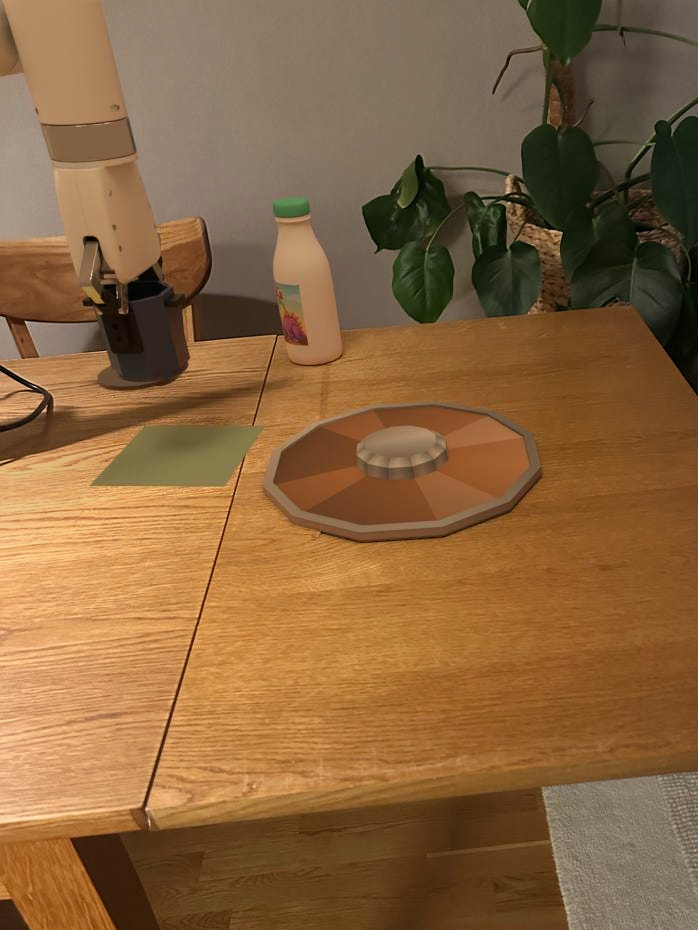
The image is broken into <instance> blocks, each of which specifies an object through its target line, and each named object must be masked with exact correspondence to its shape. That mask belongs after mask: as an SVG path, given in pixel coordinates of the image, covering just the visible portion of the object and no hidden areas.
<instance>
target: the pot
mask: <svg viewBox="0 0 698 930" xmlns="http://www.w3.org/2000/svg"><path fill="white" fill-rule="evenodd" d="M106 290H109V291H110V292H111V293H112V294H113V295H114V296H115V297H116V298H117V288H106ZM186 300H187V298H186V295H185V293H175V289H174V286H173V285H171V284H169V283H167V282H166V283H165V282H163V281H161V280H135V279H133V280H132V281H131V282H129V283H128V307H129V312H134V315H135V319H136V322H137V326H138V329H139V333H140V337H141V340H142V344H143V347H144V351H143V352H142V353H141V354H114V353H113V352H112V351H111V349H110V345H109V342H108V339H107V335H106V332H105V329H104V325H103V322H102V319H101V316H100V315H99V314H97V312H96V309H95V306H94V305H93V304H92V303H91V302H90V300H89V298H88V296H86V297H85V298H83V299H82V300H81V303H82V306H83V307H92V308H93V311H94V314H95V317H96V320H97V324H98V327H99V331H100V334H101V337H102V340H103V344H104V347H105V350H106V353H107V356H108V360H109V364H110V366H111V367H112V369H114V370H115V371H116V374H117V376H118V377H119V378H120V379H122V380H125V381H130V382H153V381H159V380H164V379H168V378H171V377H174V376H176V375H179V374H180V373H181V374H182V373H184V372H185V371H187V369H188V368H189V366H190V362H189V360H190V359H191V355H190V352H189V351H190V350H189V346H188V343H187V339H186V335H185V330H184V327H183V322H182V318H181V314H180V310H179V306H180V305H182V304H183V303H184V302H185V301H186ZM181 374H180V375H181Z"/></svg>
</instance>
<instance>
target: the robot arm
mask: <svg viewBox="0 0 698 930" xmlns="http://www.w3.org/2000/svg"><path fill="white" fill-rule="evenodd" d="M19 74H24V77H25V80H26V83H27V86H28V90H29V93H30V97H31V100H32V103H33V106H34V109H35V112H36V116H37V119H38V122H39V125H40V129H41V132H42V136H43V138H44V142H45V146H46V149H47V152H48V156H49V158H50V162H51V166H52V167H54V168H52V172H53V182H54V188H55V194H56V200H57V204H58V210H59V215H60V220H61V223H62V227H63V232H64V235H65V240H66V244H67V247H68V250H69V251H68V252H69V254H70V258H71V262H72V265H73V269H74V272H75V274H76V277H77V279H78V286H79V287H80V288H81V289H82V292H84V293H85V294H86V297H88V298H89V300H90V302H91V303H92V304H93V305H94V306H95V309H96V312H97V314H99V315H100V316H101V319H102V322H103V325H104V329H105V332H106V335H107V339H108V342H109V345H110V349H111V351H112V352H113V353H114V354H141V353H142V352H143V351H144V347H143V344H142V340H141V337H140V333H139V329H138V326H137V322H136V319H135V315H134V312H129V307H128V283H129V282H131V281H132V280H161V281H163V282H165V283H167V280H166V275H165V273H164V271H163V263H164V262H163V261H164V260H163V256H162V251H161V250H162V238H161V235H160V233H159V232H158V229H157V226H156V222H155V221H156V220H155V218H154V215H153V211H152V206H151V204H150V201H149V197H148V194H147V191H146V190H147V189H146V187H145V184H144V181H143V178H142V176H141V175H142V174H141V172H140V169H139V166H138V164H137V161H138V160H139V154H138V150H137V149H138V148H137V146H136V145H137V144H136V142H135V137H134V133H133V129H132V125H131V120H130V117H129V113H128V110H127V109H128V108H127V105H126V100H125V97H124V93H123V88H122V84H121V81H120V76H119V71H118V68H117V64H116V61H115V55H114V52H113V48H112V44H111V40H110V37H109V31H108V27H107V23H106V19H105V15H104V10H103V7H102V3H101V0H0V77H6V76H12V75H19ZM105 275H115V276H116V277H113V278H111V277H105ZM106 288H117V298H116V297H115V296H114V295H113V294H112V293H111V292H110V291H109V290H106Z"/></svg>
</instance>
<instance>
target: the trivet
mask: <svg viewBox="0 0 698 930" xmlns="http://www.w3.org/2000/svg"><path fill="white" fill-rule="evenodd" d="M181 375H182V373H180V374H179V375H176V376H174V377H171V378H168V379H164V380H159V381H153V382H130V381H125V380H122V379H120V378H119V377H118V376H117V374H116V371H115V370H114V369H112V367H111V365H109V366H107V367H104V369H102V370H101V371H100V372H99V373H97V376H96V380H97V383H98V385H99V387H101V388H103V389H106V390H111V391H118V392H119V391H120V392H121V391H122V392H123V391H124V392H125V391H126V392H127V391H129V392H130V391H138V390H144V389H149V388H153V387H162V386H164V385H167V384H169V383H171V382H173V381H175V380H176V379H178V378H179V377H180V376H181Z"/></svg>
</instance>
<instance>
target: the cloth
mask: <svg viewBox="0 0 698 930" xmlns="http://www.w3.org/2000/svg"><path fill="white" fill-rule="evenodd" d="M264 428H265V425H144V426H143V427H142V428H141V429H140V431H139V432H138V433H136V434H135V436H134V437H133V438H132V439H131V440H130V441H129V442H128V443H127V445H126V446H125V447H124V448H123V449H122V450H121V451H120V452H119V453H118V454H117V455H116V457H114V459H113V460H112V461H111V462H110V463H109V464H108V465H107V466H106V467H105V468H104V469H103V470H102V472H100V473H99V475H98V476H97V477H96V478H95V479H93V481H92V482H91V484H89V487H221V488H222V487H223V488H224V487H225V486H226V485H227V483H228V482H229V481H230V480H231V477H233V474H234V473H235V472H236V471H237V469H238V467H239V465H241V462H242V461H243V460H244V458H245V456H246V455H247V454H248V452H249V450H250V449H251V448H252V446H253V445H254V443H255V442H256V440H257V438H258V437H259V435H260V434H261V433H262V431H263V430H264Z"/></svg>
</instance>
